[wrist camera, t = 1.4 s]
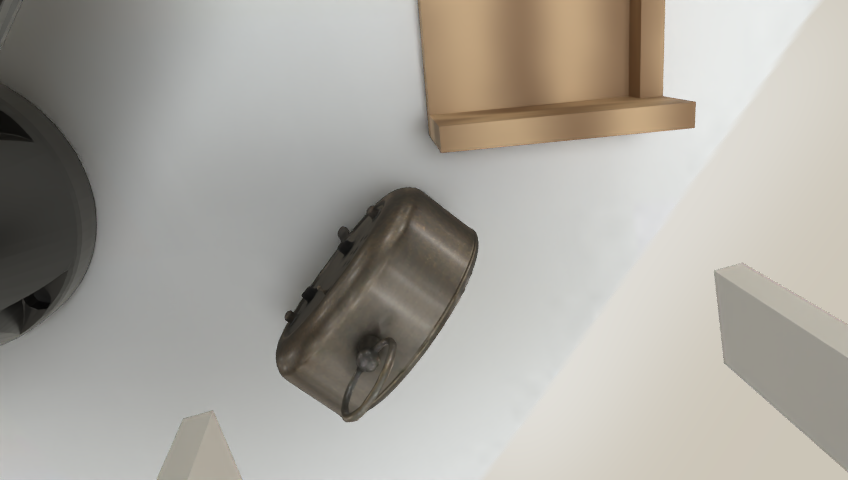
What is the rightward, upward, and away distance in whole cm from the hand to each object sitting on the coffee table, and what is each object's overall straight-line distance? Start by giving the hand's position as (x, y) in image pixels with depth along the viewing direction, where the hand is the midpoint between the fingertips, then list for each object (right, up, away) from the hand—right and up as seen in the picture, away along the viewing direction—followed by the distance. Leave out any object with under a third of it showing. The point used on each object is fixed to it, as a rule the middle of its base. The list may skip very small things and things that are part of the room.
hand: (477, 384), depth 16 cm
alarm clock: (-5, +3, +21) cm, 22 cm away
